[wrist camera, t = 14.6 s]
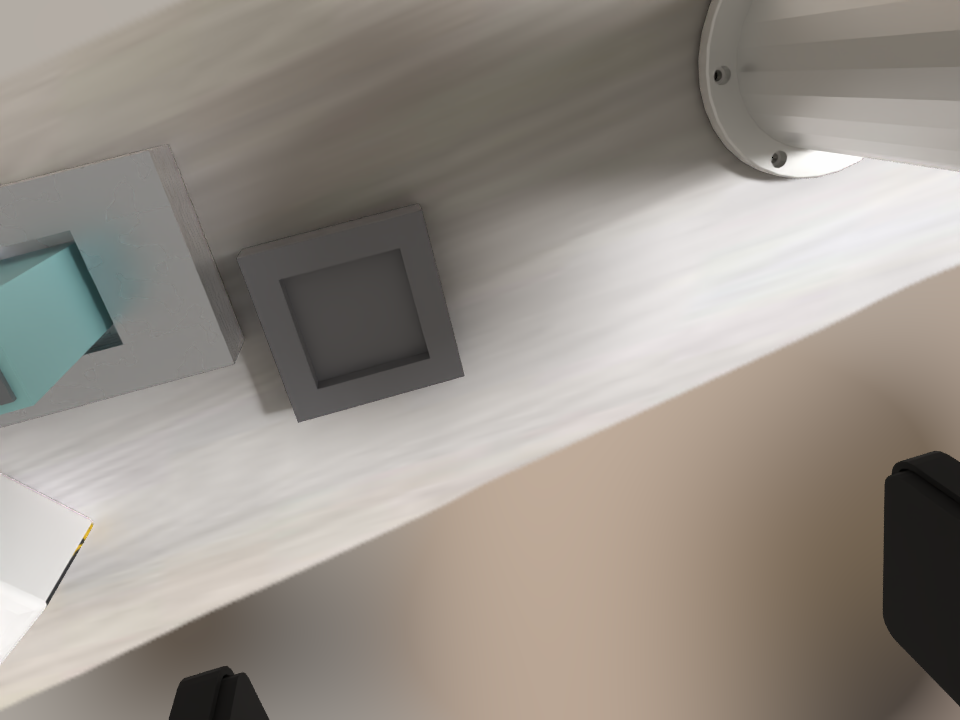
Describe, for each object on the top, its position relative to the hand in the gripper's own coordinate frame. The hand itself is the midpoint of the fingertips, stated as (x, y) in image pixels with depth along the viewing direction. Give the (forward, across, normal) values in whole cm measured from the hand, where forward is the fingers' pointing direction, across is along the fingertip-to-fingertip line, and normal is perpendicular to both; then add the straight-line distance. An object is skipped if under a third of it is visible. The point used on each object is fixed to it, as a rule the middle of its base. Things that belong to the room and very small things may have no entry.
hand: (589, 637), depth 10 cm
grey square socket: (+28, +4, +3) cm, 29 cm away
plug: (+27, +17, -2) cm, 32 cm away
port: (+28, +17, -2) cm, 33 cm away
